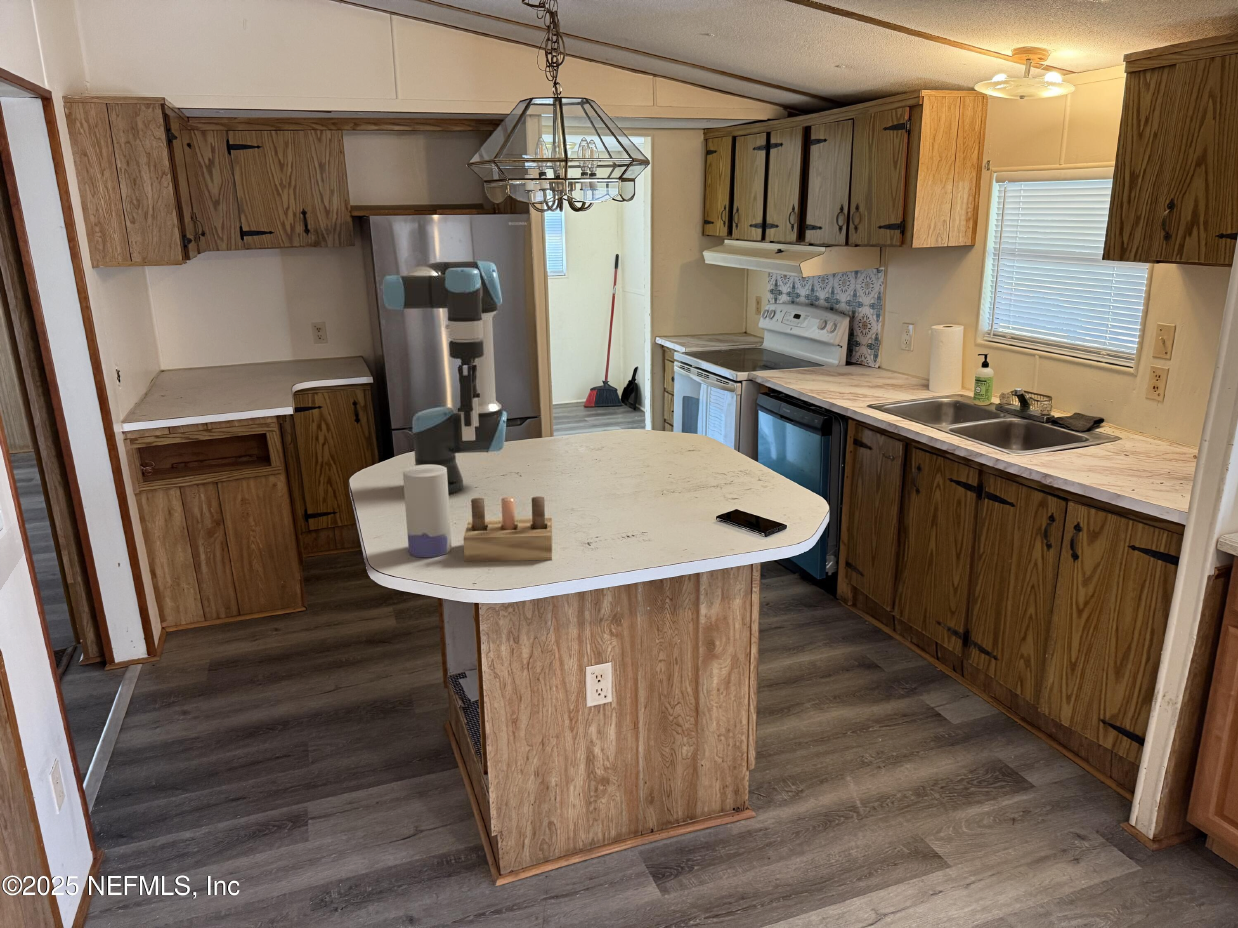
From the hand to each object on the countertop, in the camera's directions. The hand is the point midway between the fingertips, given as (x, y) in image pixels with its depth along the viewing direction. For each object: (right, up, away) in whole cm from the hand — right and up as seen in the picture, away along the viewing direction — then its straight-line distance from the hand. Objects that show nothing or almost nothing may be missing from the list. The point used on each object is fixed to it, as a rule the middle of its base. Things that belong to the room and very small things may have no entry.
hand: (470, 433), depth 196 cm
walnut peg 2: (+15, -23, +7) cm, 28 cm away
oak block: (+8, -28, +8) cm, 30 cm away
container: (-11, -28, +9) cm, 31 cm away
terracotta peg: (+8, -23, +7) cm, 25 cm away
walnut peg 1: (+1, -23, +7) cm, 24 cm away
